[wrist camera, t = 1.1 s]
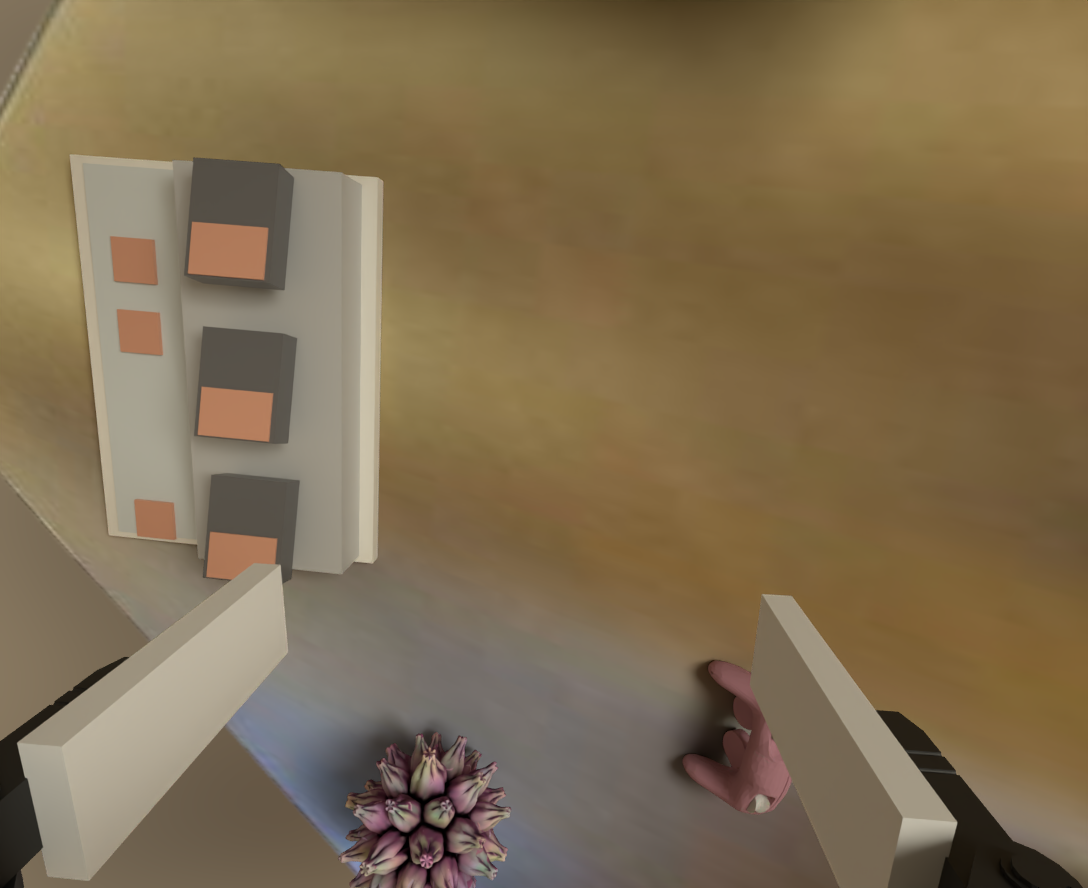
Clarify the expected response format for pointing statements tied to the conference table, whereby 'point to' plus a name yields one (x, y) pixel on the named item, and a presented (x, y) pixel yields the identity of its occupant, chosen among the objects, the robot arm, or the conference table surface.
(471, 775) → the flower
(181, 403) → the switch panel
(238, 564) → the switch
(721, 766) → the video game controller
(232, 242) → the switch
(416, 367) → the conference table surface
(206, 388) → the middle switch
